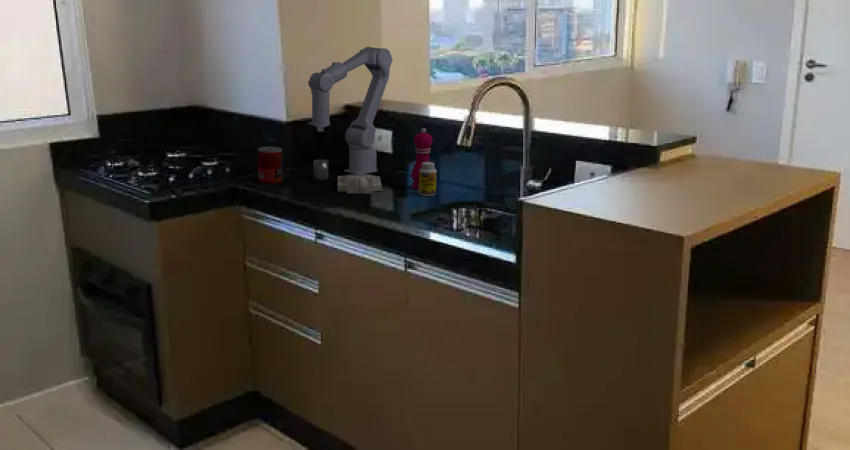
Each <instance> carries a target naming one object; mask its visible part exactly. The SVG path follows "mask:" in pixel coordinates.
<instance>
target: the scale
mask: <svg viewBox="0 0 850 450" xmlns="http://www.w3.org/2000/svg"><path fill="white" fill-rule="evenodd" d="M382 189H383V187H382V182H381V176H379V175H378V176H376V175H374V174H369V173H366V174H354V173H350V174H345V175H338V176H337V192H345V193H347V194H373V192H372V191H382Z"/></svg>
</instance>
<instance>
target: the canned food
mask: <svg viewBox="0 0 850 450" xmlns="http://www.w3.org/2000/svg"><path fill="white" fill-rule="evenodd" d="M257 172H258V176H257V177H258V181H259V182H260V183H262V184H268V185H269V184H270V185H271V184H279V183H281V182H282V181H283V149H282V148H281V147H279V146H261V147H258V148H257Z"/></svg>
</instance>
